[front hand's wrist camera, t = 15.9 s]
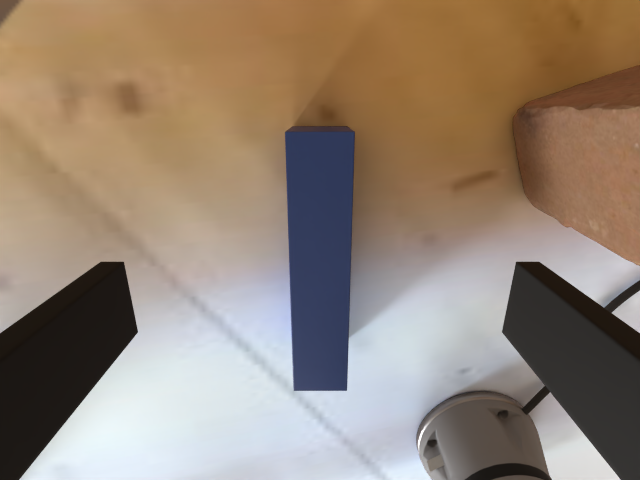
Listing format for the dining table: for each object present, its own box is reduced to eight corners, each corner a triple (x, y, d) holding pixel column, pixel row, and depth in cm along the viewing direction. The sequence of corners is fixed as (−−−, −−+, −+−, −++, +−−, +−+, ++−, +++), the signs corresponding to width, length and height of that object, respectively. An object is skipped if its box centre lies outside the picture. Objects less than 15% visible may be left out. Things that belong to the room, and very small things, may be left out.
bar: (292, 126, 36) (285, 131, 28) (347, 126, 36) (354, 131, 28) (297, 343, 44) (293, 391, 37) (342, 343, 44) (346, 390, 37)
